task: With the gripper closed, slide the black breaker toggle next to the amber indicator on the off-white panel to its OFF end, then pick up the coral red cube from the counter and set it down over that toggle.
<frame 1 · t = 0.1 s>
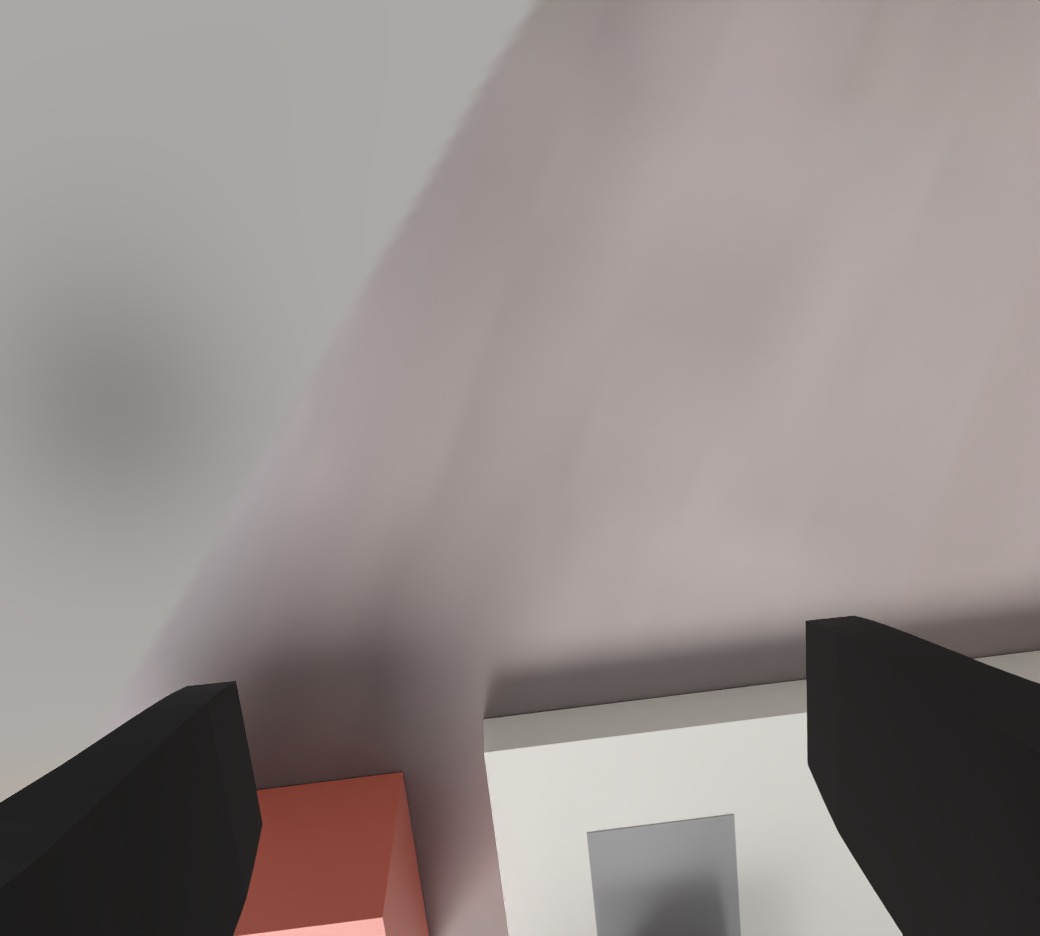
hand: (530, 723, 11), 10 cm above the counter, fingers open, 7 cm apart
breaker panel: (878, 918, 24), on the counter
coral red cube: (311, 879, 23), on the counter
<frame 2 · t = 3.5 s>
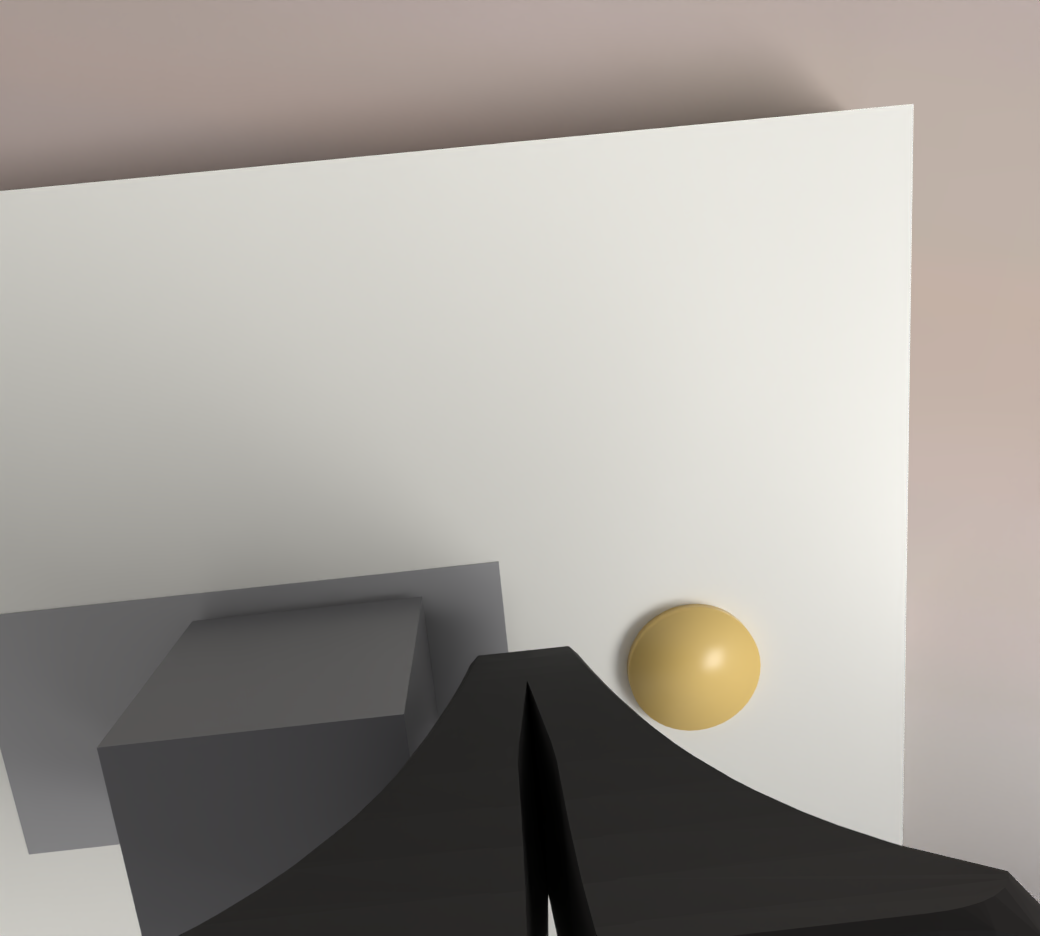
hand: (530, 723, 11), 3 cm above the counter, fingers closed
breaker toggle: (303, 776, 10), point 3 cm above the counter, slide at 1.0 cm, touching gripper
breaker panel: (403, 820, 14), on the counter
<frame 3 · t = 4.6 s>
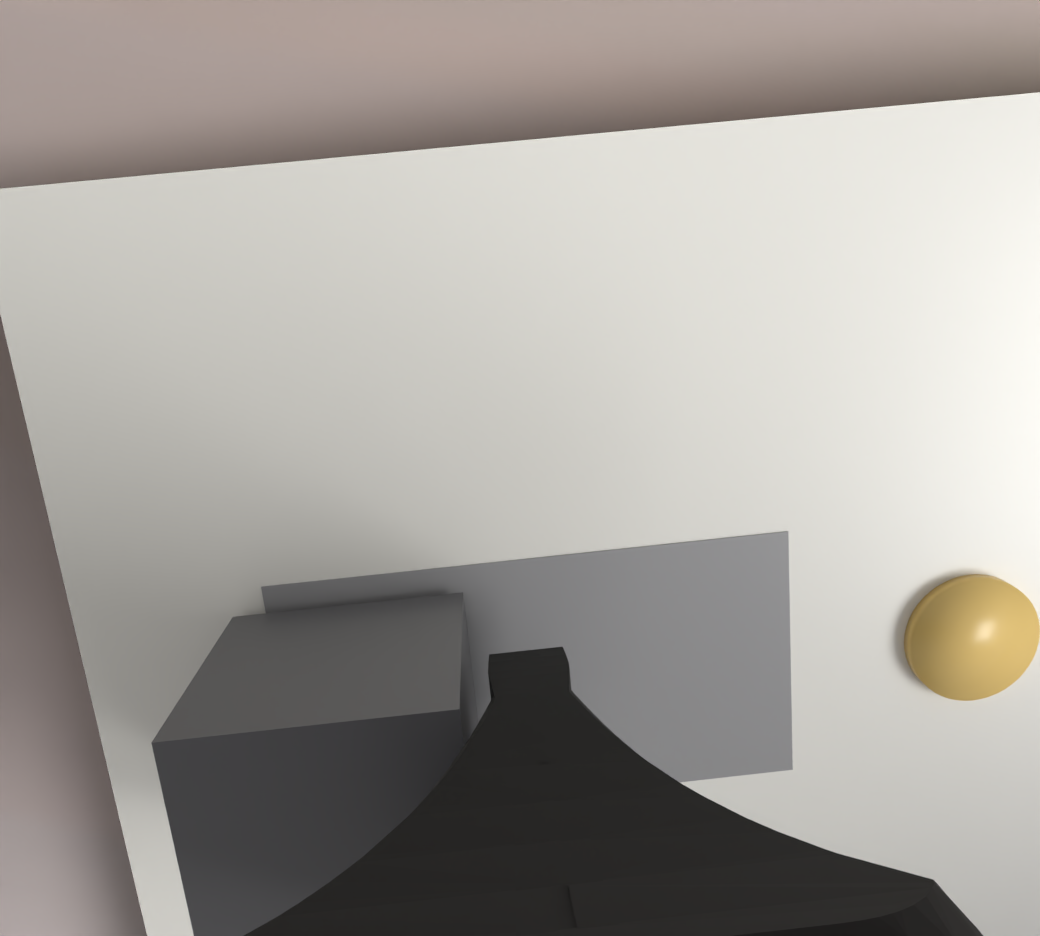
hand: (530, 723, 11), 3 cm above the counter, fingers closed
breaker toggle: (348, 772, 10), point 3 cm above the counter, slide at 4.4 cm, touching gripper
breaker panel: (639, 794, 14), on the counter
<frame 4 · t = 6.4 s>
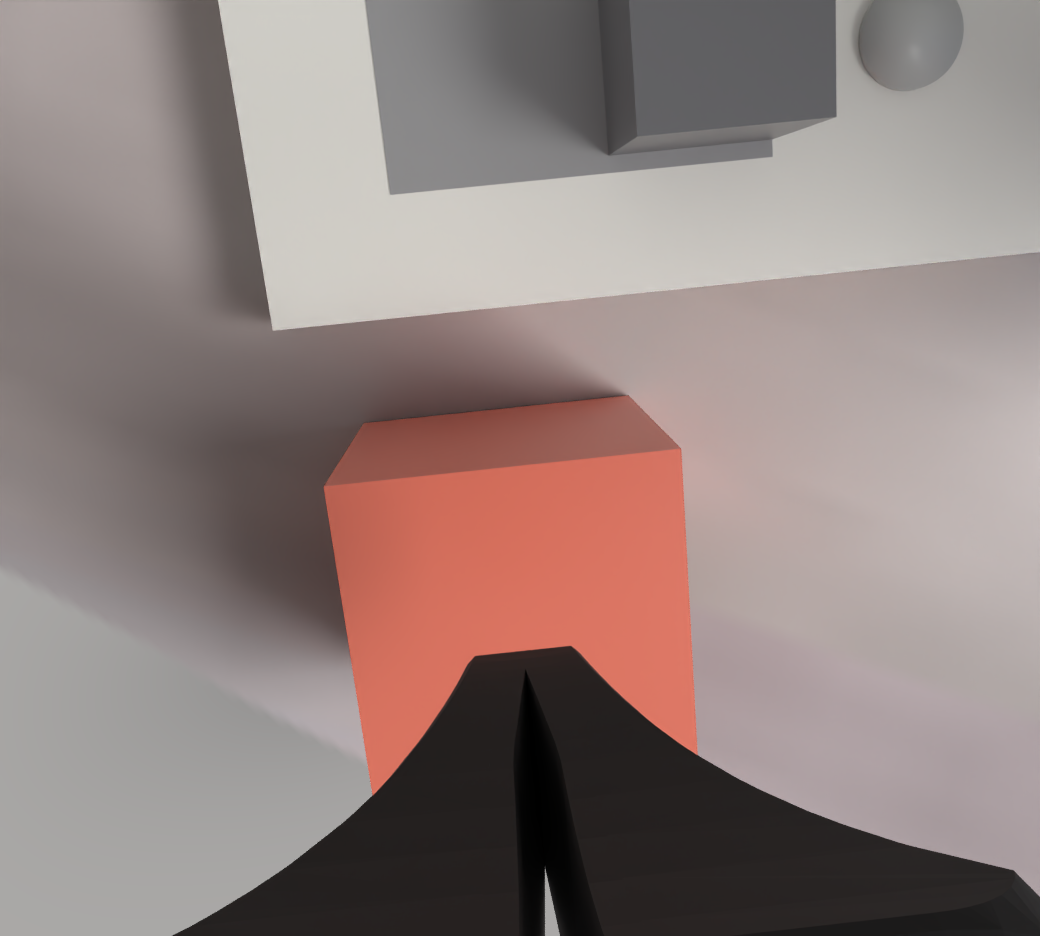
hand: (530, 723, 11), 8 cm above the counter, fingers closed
coral red cube: (509, 534, 19), on the counter
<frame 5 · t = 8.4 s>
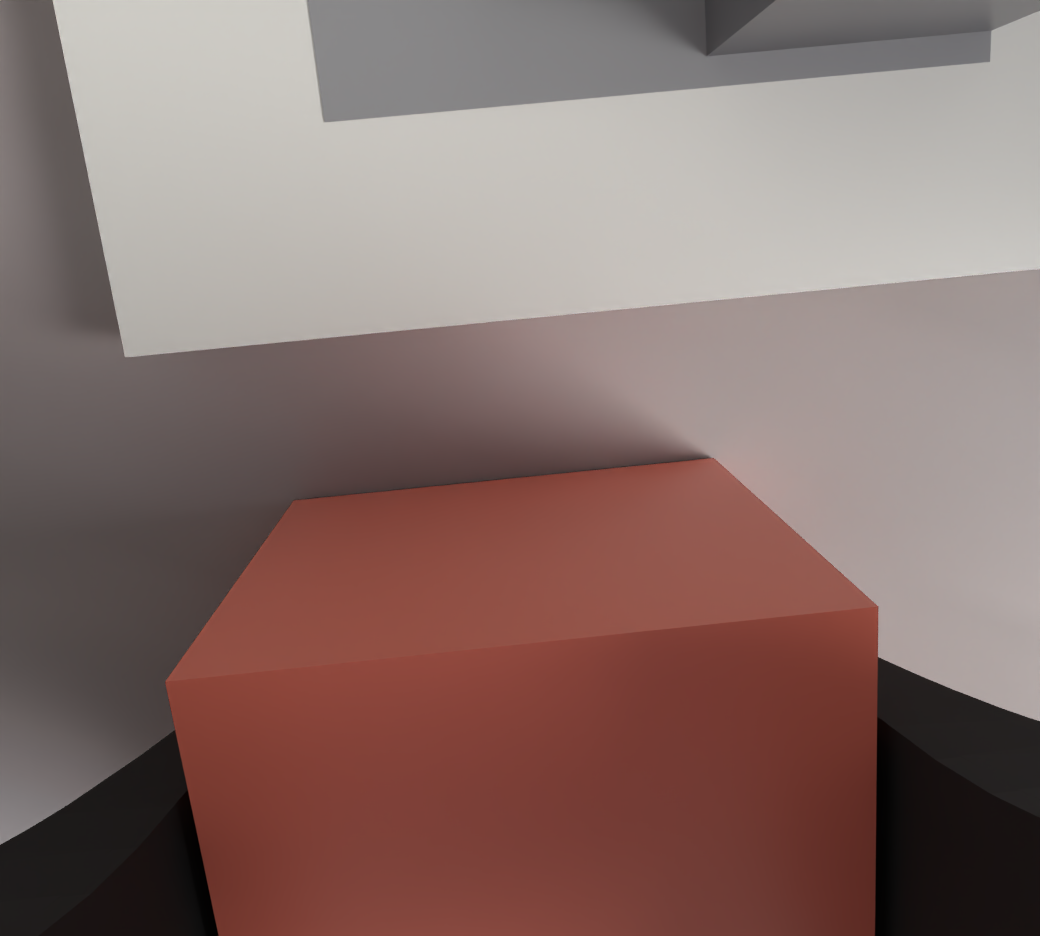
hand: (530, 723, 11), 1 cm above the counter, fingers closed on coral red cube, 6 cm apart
coral red cube: (523, 670, 12), on the counter, touching gripper
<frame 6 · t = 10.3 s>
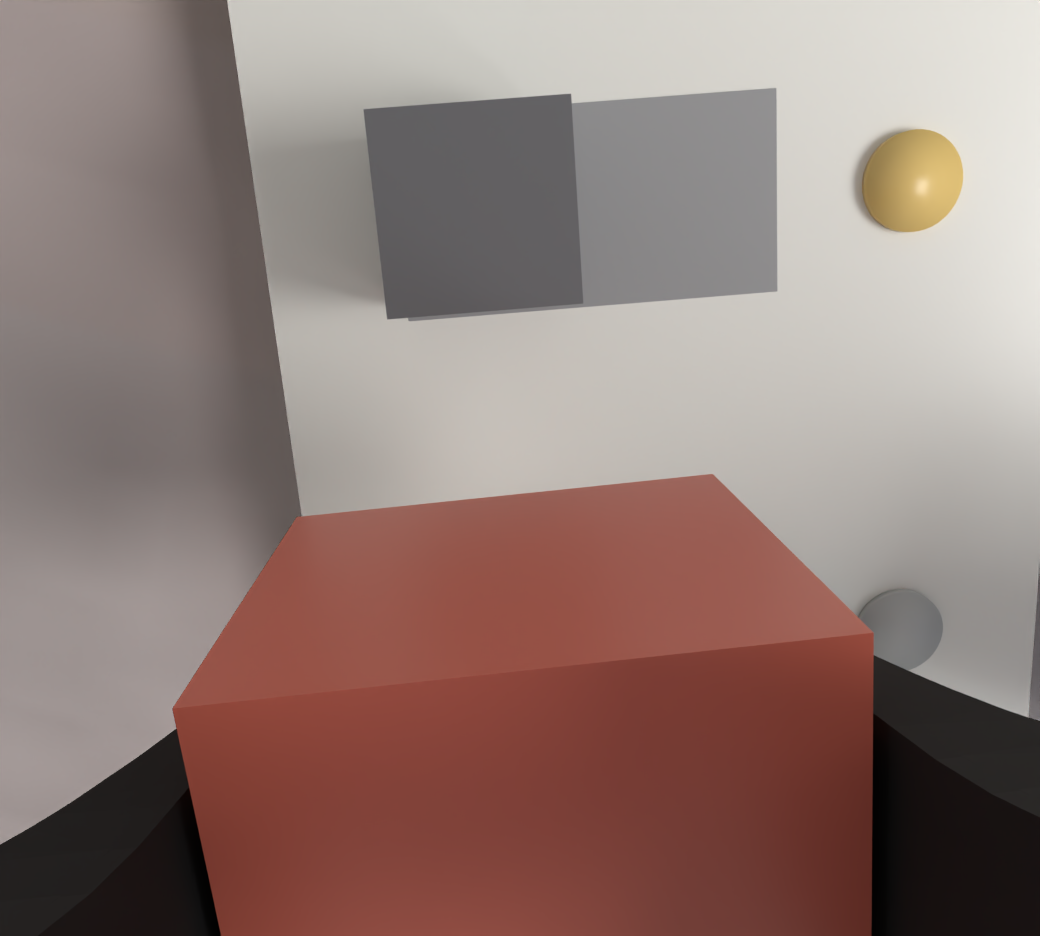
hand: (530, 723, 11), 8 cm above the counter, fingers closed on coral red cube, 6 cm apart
breaker toggle: (476, 212, 15), point 3 cm above the counter, slide at 4.1 cm
breaker panel: (659, 353, 19), on the counter
coral red cube: (525, 683, 13), point 7 cm above the counter, touching gripper
when the fingers open (5 cm above the counter, at t = 12.1 s): coral red cube drops 2 cm, resting on breaker panel.
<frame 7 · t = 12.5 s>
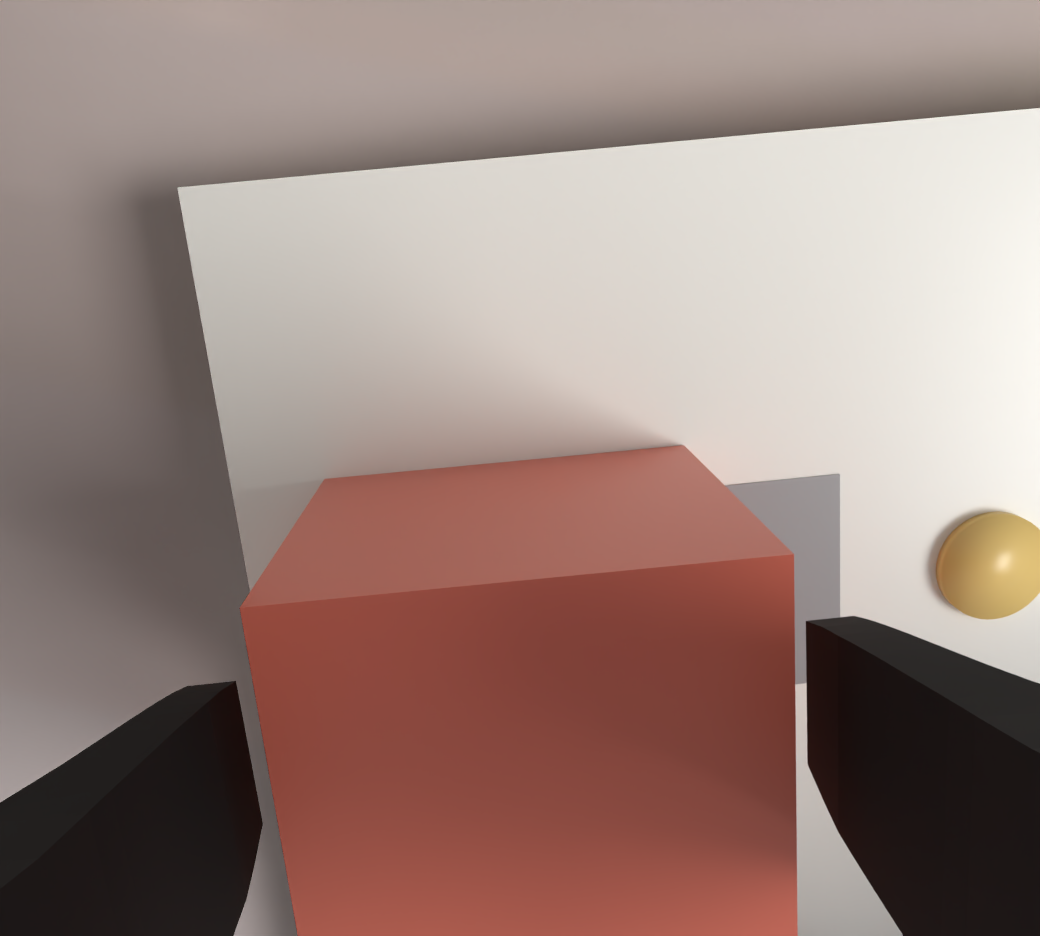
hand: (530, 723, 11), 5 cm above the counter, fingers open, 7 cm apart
breaker panel: (703, 710, 17), on the counter
coral red cube: (520, 628, 14), point 2 cm above the counter, touching breaker panel
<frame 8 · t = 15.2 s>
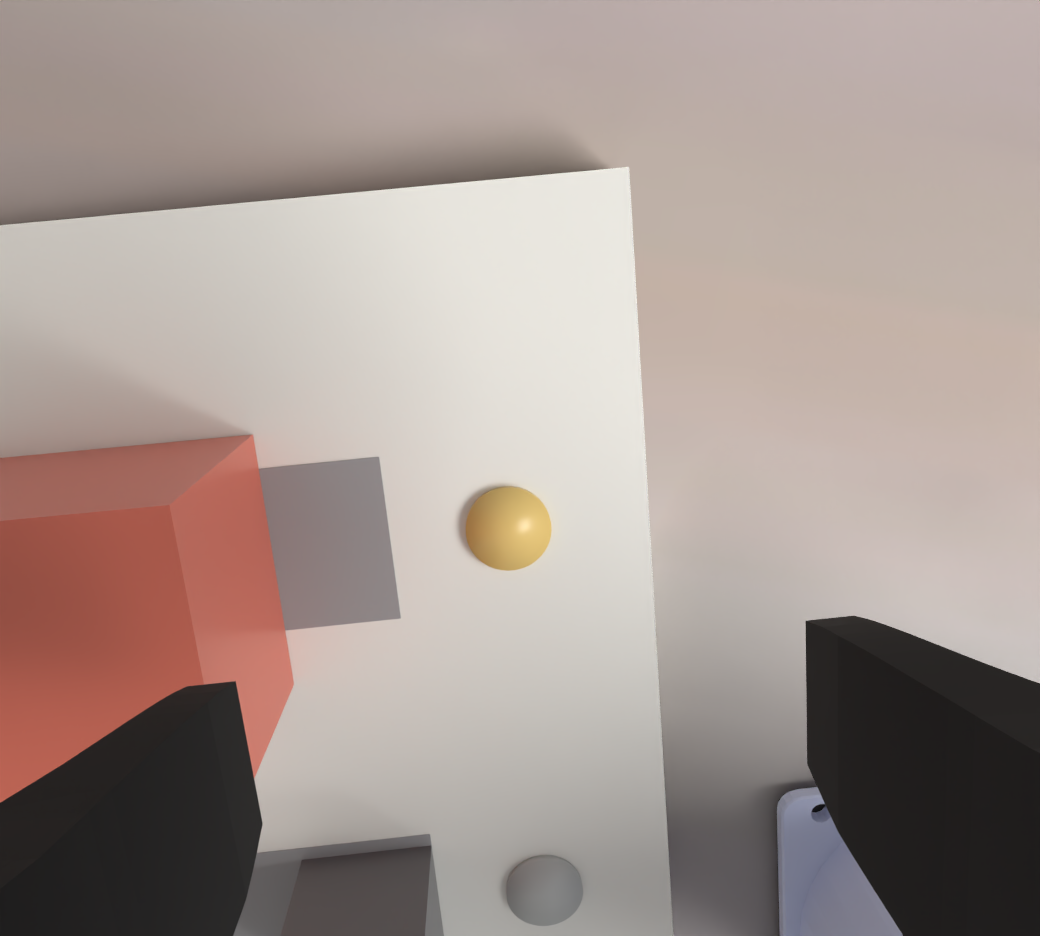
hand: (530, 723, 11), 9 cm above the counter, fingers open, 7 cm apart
breaker panel: (327, 647, 21), on the counter
coral red cube: (140, 576, 19), point 2 cm above the counter, touching breaker panel
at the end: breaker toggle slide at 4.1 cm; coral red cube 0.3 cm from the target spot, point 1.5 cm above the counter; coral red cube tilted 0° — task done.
